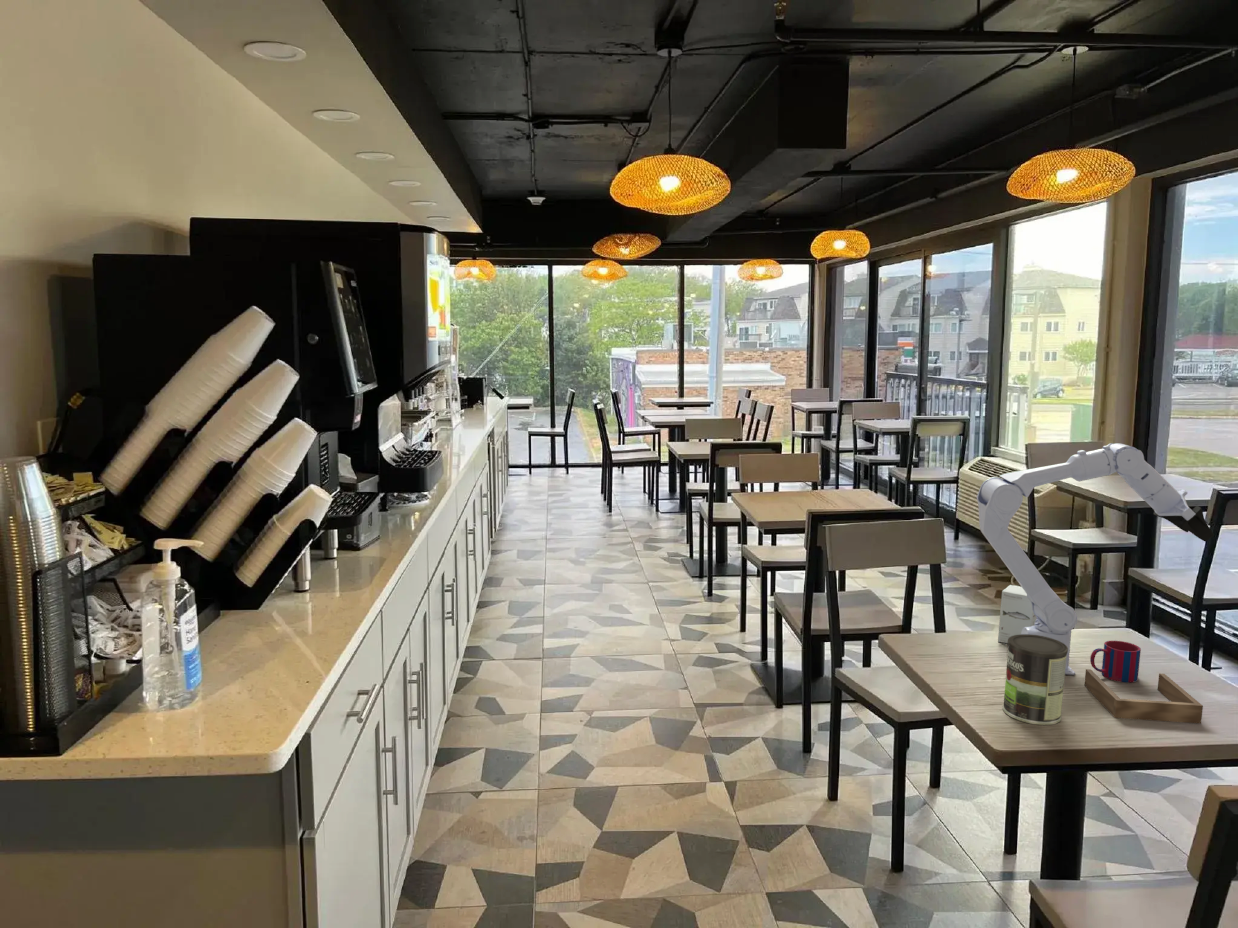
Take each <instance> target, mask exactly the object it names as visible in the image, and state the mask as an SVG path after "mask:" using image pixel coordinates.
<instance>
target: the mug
mask: <svg viewBox="0 0 1238 928" xmlns="http://www.w3.org/2000/svg"><path fill="white" fill-rule="evenodd" d="M1141 651H1142V649H1141V647H1140V646H1138V645H1137V644H1134V643H1131V642H1127V641H1122V640H1107V641H1104V643H1103V648H1100V647H1099V648H1095V649H1094V650H1092V652H1091V655H1090V657H1089V659H1090V665H1091V666H1092V669H1094V670H1095V671H1097V672H1099V673H1101V675H1102V677H1104V678H1106V679H1109V680H1110V681H1114V682H1119V683H1127V684H1128V683H1129V684H1130V683H1135V682H1137V681H1138V679H1139V673H1140V672H1139V670H1140V661H1141ZM1099 652H1102V654H1103V655H1102V664H1101V665H1102V666H1101V668H1099V667H1097V666H1096V664H1095V663H1096V662H1095V658H1096V655H1097V654H1098V653H1099Z"/></svg>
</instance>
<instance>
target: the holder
mask: <svg viewBox="0 0 1238 928" xmlns="http://www.w3.org/2000/svg"><path fill="white" fill-rule="evenodd" d="M1084 674H1085V675H1084V687H1085V688H1086V689H1088V691H1089V692H1090V693H1091V694H1092V695H1093V696H1094V697H1095V698H1096V700H1098V702H1100V704H1101V705H1102V706H1103V707H1104V708H1105V709H1106V710H1107V711H1108V712H1109V713H1110V714H1111V715H1112V717H1114V718H1115V719H1125V720H1126V719H1129V720H1142V721H1144V720H1145V721H1157V722H1172V723H1173V722H1174V723H1175V722H1176V723H1185V724H1186V723H1189V724H1191V723H1192V724H1202V717H1203V709H1204V706H1203V704H1201V703H1200V702H1199V701H1198V700H1197V699H1196V698H1195V697H1193V696H1192V695H1191V694H1190V693H1189V692H1188V691H1186V690H1184V689H1183V688H1182V687H1181V686H1180V685H1179V684H1178V683H1176V682H1175V681H1174V680H1173V679H1171V678H1170V677H1169V676H1168V675H1167V674H1165V673H1161V672H1160V673H1158V682H1157V691H1158V692H1160V693H1161V694H1162V696H1164V697H1165V698H1166V699H1167V700H1169V701H1165V700H1164V701H1162V700H1152V699H1150V700H1148V699H1133V698H1121V697H1119V695H1117V694H1116V693H1115V692H1114V691H1113V690H1112V689H1111V688H1110V687H1109V686H1108V685H1107V683H1105V682H1104V680H1102V679H1101V677H1099V675H1097V674H1096V673H1095V672H1094V671H1093V670H1092V669H1091V668H1090V669H1089V668H1087V669H1085V673H1084Z"/></svg>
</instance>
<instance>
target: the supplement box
mask: <svg viewBox="0 0 1238 928" xmlns="http://www.w3.org/2000/svg"><path fill="white" fill-rule="evenodd" d="M1036 618H1037V616H1036V615H1035V614H1034V613H1033V610H1032V604H1031V601H1030V600H1029V598H1028V597H1027V594H1026V592H1025V591H1024V589H1023V588H1022V587H1021V585H1020V586H1019V585H1013V584H1009V585H1008V586H1007V587H1006V588H1004V589H1003V590H1002V591H1001V599H1000V612H999V625H998V634H997V642H998V643H1003V644H1004V643H1005V644H1008V638H1009V637H1011V636H1014V635H1021V632H1022V629H1023V627H1031V626H1034V624H1035V621H1036Z"/></svg>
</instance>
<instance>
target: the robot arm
mask: <svg viewBox="0 0 1238 928" xmlns="http://www.w3.org/2000/svg"><path fill="white" fill-rule="evenodd" d="M1115 473H1117V474H1118V475H1119V476H1120V477H1121V478H1122V479H1123V480H1124V481H1125V483H1126V484H1127V485H1128V486H1129V487H1130V488H1131V489H1132V490H1133V491H1134V492H1135V493H1136V494H1137V495H1138V496H1139V497H1140V498H1142V500H1143V501H1144V502H1145V503H1147V505H1149V507H1151V508H1152V510H1153V515H1154V516H1156V517H1158V518H1162V519H1164V520H1167V521H1168V522H1170V523H1171V524H1173V525H1174V526H1175V527H1177V528H1179V530H1181V531H1183V532H1185V533H1188V532H1190V533H1191V534H1192V535H1194V536H1195V537H1196V538H1198V539H1200V540H1202V541H1203V542H1204V543H1206V542H1208V541H1209V540H1210V539H1211V538H1213V537H1214V536H1215V535H1214V532H1213V531H1212V530H1211V528H1210V526H1209V525H1208V522H1207V521H1206V519H1205V517H1204V511H1203V509H1202V507H1200V506H1198V505H1196V506H1195V507H1193V508H1192V509H1191V508H1190V507H1189V505H1188V502H1187V500H1186V498H1185V497H1186V496H1187V495H1188V491H1186V490H1185V489H1180V490H1177V489H1175V488H1174V486H1172V485H1171V484H1170V483H1169V481H1167V479H1166V478H1164V477H1163V476H1162V475H1161V474H1160V473H1159V472H1158V471H1157V470H1156V469H1155V468H1154V467H1153V466H1152V465H1151V464H1149V463H1148V462H1147V461H1146V460H1145V456H1144V453H1143V452H1142V450H1140V449H1137V448H1136V447H1134V446H1131V445H1128V444H1124V443H1120V442H1119V443H1112V442H1111V443H1108V444H1107V445H1103V446H1102V448H1099V449H1094V450H1089V451H1086V450H1083V449H1080V450H1077V451H1076V454H1073V455H1071V456H1070V457H1069V458H1068V459H1067V461H1066V462H1062V463H1056V464H1052V465H1051V464H1050V465H1046V466H1040V467H1036V468H1035V467H1034V468H1029V469H1023V470H1017V471H1013V472H1007V473H1003V474H1001V475H999V477H998V476H997V477H996V476H995V477H994V476H993V477H990V478H987V479H986V480H984V481H983V482H982V483H981V485H980V488H979V490H978V492H977V495H976V501H977V504H978V505H977V506H978V520H979V521H978V524H979V526H978V527H979V530H980V532H981V533H982V535H983V536H984V538H985V539H986V540H987V542H988V543H989V544H990V546H991V547H992V549H994V551H995V553H996V554H997V555H998V556H999V558H1000V559H1001V561H1002V562H1003V563H1004V565H1005V566H1006V567H1007V569H1008V570H1009V572H1010V573H1011V574H1012V576H1013V577H1014V578H1015V580H1016V582H1018V585H1020V587H1022V588H1023V589H1024V591H1025V592H1026V594H1027V597H1028V598H1029V600H1030V601H1031V604H1032V610H1033V613H1034V614H1035V615H1036V616H1037V618H1036V621H1035V624H1034V626H1031V627H1023V629H1022V632H1021V634H1030V635H1039V636H1044V637H1049V638H1052V639H1055V640H1058V641H1060V642H1062V643H1064V644H1065V645H1066V646H1067V647H1068V652H1067V656H1066V667H1065V675H1073V676H1074V675H1076V671H1074V670H1073V668H1071V666H1070V663H1069V662H1070V652H1071V651H1070V650H1071V641H1072V640H1071V639H1072V630H1073V629H1074V628H1075V627H1076V625H1077V623H1078V614H1077V612H1076V611H1075V609H1074V608H1073V607H1072V606H1070V605H1068V604H1067V603H1065V602H1064V601H1063V600H1062V599H1061V598H1060V596H1059V595H1058V594H1057V593H1056V592H1055V591H1054V590H1053V589H1052V588H1051V587H1050V585H1049V584H1048V582H1047V581H1046V580H1045V578H1044V577H1043V575H1042V574H1041V573H1040V571H1039V570H1038V569H1037V567H1036V566H1035V565H1034V563H1033V562H1032V561H1031V559H1030V558H1029V557H1028V555H1027V554H1026V552H1025V551H1024V550H1023V548H1022V547H1021V545H1020V544H1019V543H1018V542H1017V540H1016V539H1015V537H1014V536H1013V534H1012V533H1011V531H1010V530H1009V525H1010V522H1011V519H1012V518H1013V517H1014V516H1015V514H1016V513H1018V510H1019V509H1020V508H1021V506H1022V504H1023V501H1024V500H1023V498H1024V497H1025V498H1028V497H1030V494H1031V493H1032V492H1033V489H1034V488H1035V487H1040V486H1043V485H1047V484H1051V483H1055V482H1058V481H1062V480H1067V479H1069V478H1071V479H1073V480H1075V481H1077V482H1084V481H1089V480H1093V479H1097V478H1103V477H1107V476H1110V475H1113V474H1115Z"/></svg>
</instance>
